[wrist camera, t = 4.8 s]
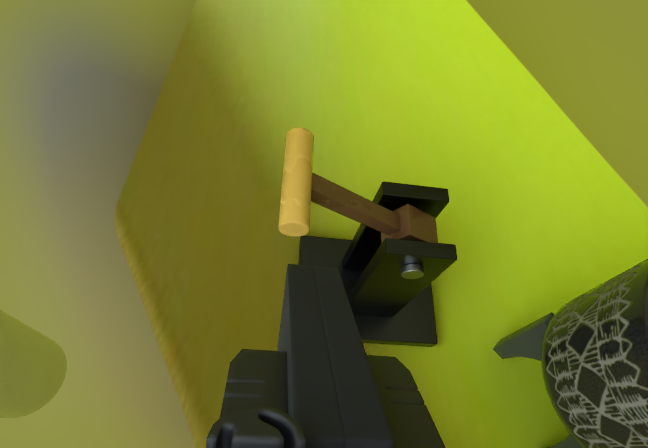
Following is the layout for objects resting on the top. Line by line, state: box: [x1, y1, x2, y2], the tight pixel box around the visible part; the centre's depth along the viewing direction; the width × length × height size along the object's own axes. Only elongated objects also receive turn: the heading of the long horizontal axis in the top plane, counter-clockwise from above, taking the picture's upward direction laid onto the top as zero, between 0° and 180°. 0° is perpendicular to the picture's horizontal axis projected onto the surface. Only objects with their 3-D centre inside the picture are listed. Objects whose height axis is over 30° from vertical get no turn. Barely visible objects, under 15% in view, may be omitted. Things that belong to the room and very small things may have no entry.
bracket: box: [298, 182, 457, 347], centre depth 32 cm, size 12×9×14 cm
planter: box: [493, 259, 648, 448], centre depth 29 cm, size 13×13×18 cm
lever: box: [278, 128, 438, 243], centre depth 25 cm, size 11×6×2 cm, turn 91°
